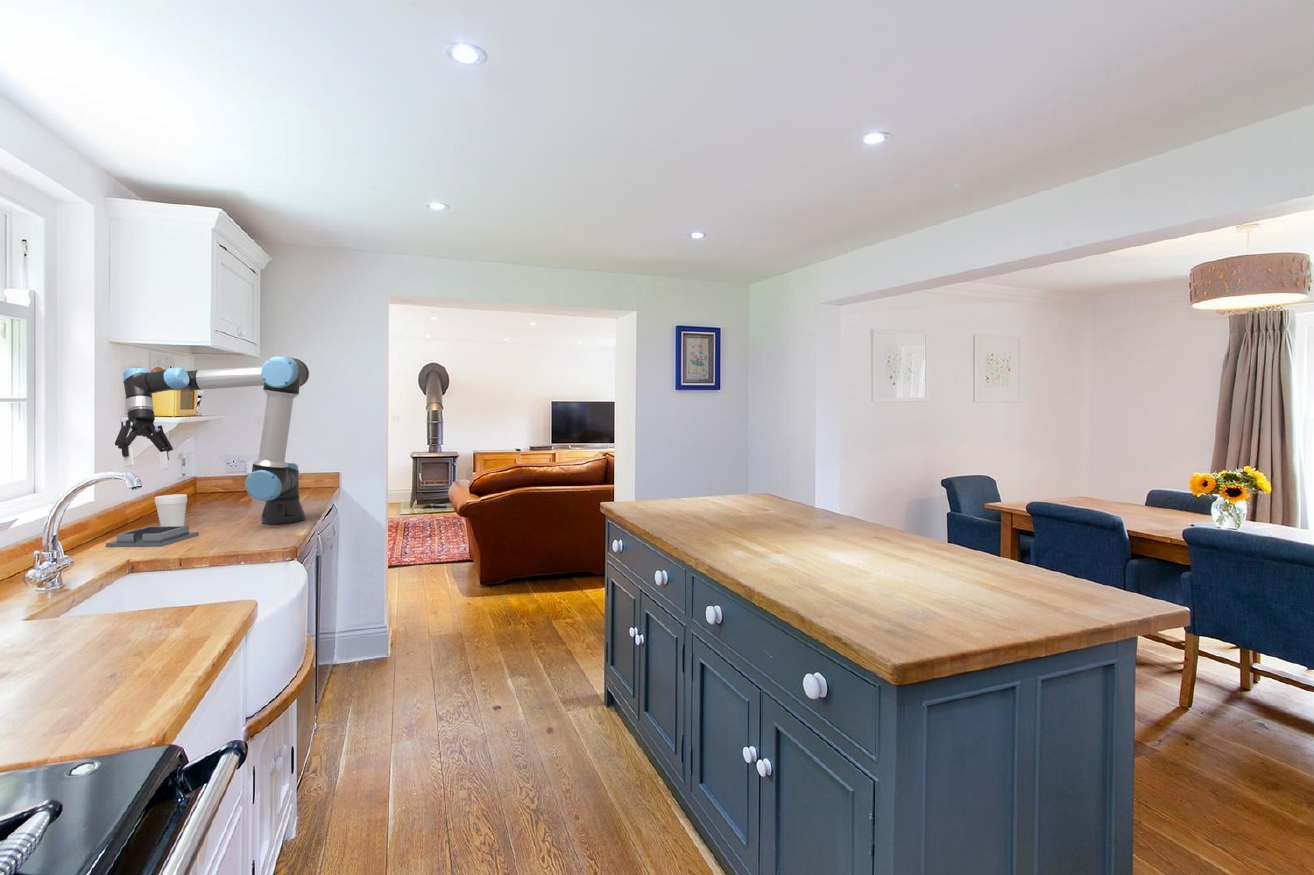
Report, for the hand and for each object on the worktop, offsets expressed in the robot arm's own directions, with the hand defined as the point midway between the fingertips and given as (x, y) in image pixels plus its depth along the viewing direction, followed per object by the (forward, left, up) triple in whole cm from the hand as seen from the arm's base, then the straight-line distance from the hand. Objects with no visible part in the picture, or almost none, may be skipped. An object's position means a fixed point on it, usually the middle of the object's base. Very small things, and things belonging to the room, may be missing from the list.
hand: (147, 467), depth 230 cm
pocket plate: (+9, +8, -24) cm, 27 cm away
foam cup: (-8, +2, -24) cm, 26 cm away
